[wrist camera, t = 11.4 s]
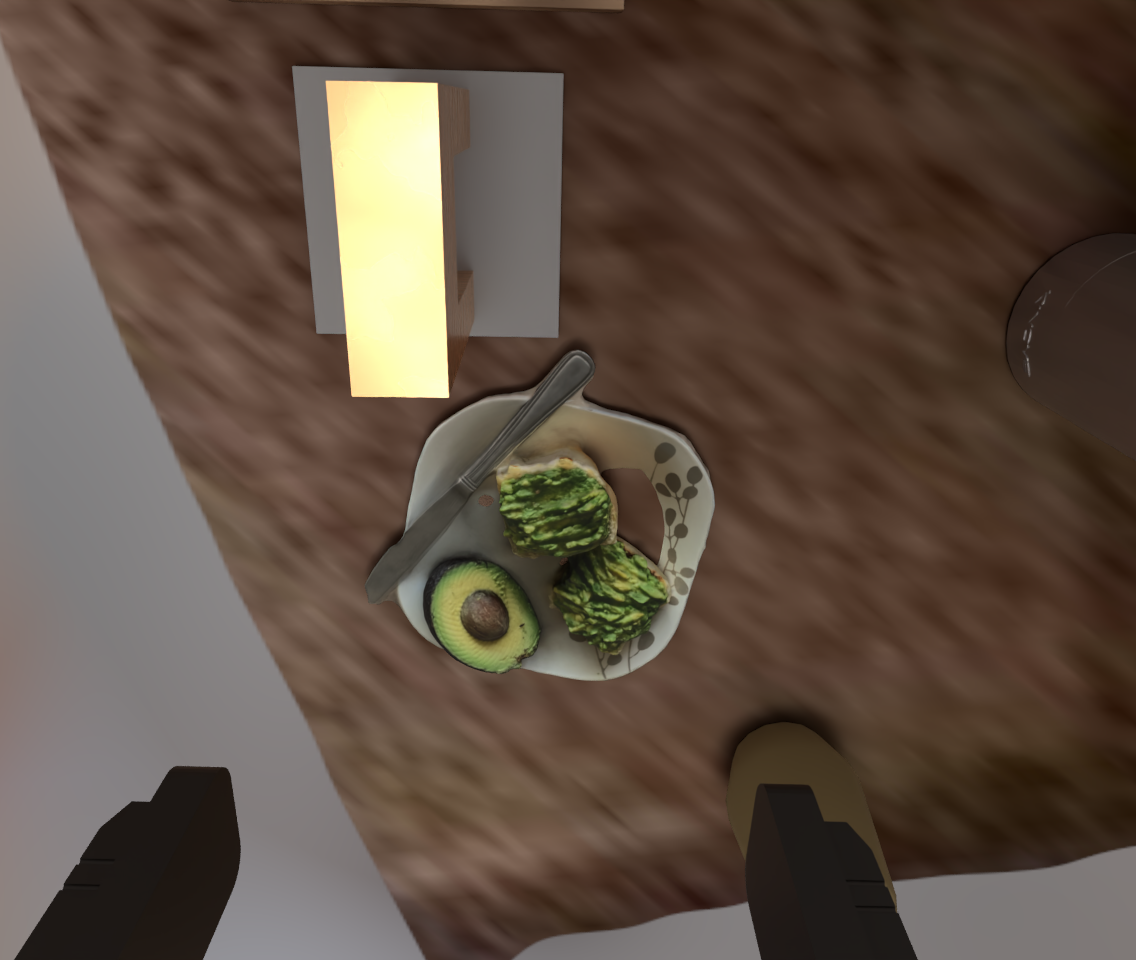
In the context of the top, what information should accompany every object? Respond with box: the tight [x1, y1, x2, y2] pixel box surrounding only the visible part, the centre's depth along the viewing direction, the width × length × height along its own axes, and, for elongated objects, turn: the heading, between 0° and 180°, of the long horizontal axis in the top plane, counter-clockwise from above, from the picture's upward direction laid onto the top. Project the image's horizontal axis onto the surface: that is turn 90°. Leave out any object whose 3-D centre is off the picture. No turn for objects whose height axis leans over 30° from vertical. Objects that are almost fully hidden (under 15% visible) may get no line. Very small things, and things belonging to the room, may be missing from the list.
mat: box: [292, 66, 563, 338], centre depth 41 cm, size 12×12×1 cm
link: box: [326, 81, 474, 398], centre depth 35 cm, size 4×10×12 cm, turn 179°
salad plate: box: [365, 350, 715, 681], centre depth 46 cm, size 19×18×5 cm
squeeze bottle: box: [726, 722, 897, 913], centre depth 47 cm, size 8×8×18 cm
